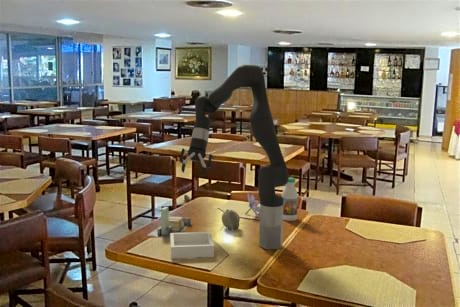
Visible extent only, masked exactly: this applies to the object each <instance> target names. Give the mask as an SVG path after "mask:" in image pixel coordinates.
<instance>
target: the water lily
mask: <svg viewBox="0 0 460 307" xmlns="http://www.w3.org/2000/svg"><path fill="white" fill-rule="evenodd" d="M255 198H256V197H255V196H254V194H251V196H250V194H249V193H247V203H248V207H249V209H247V211H246V212H245V213H244V215H247V214H248V213H249V211H251V210H252V212H253V213H254V215H256V216H257V217H258V218H259V219H260V200H257V199H255Z"/></svg>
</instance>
